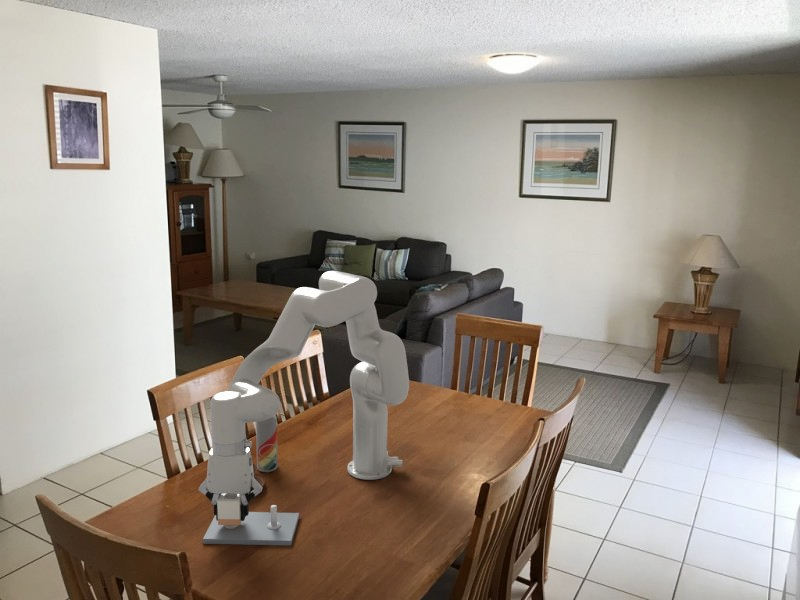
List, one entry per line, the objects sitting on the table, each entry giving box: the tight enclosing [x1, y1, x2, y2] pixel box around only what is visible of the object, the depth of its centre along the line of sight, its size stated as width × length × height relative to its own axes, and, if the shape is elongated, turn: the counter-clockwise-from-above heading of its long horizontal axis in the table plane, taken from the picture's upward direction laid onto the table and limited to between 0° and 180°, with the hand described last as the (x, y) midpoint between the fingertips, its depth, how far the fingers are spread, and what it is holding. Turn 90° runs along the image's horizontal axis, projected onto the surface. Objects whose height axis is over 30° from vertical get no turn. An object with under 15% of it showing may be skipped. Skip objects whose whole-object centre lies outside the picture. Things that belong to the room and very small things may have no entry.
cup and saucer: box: [249, 463, 266, 493], centre depth 174 cm, size 12×12×6 cm
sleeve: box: [217, 494, 242, 525], centre depth 154 cm, size 5×5×6 cm
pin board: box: [202, 504, 300, 546], centre depth 155 cm, size 20×12×6 cm, turn 90°
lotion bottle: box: [255, 415, 278, 473], centre depth 185 cm, size 6×6×20 cm
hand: (231, 516), depth 155 cm, fingers closed on sleeve, 5 cm apart
